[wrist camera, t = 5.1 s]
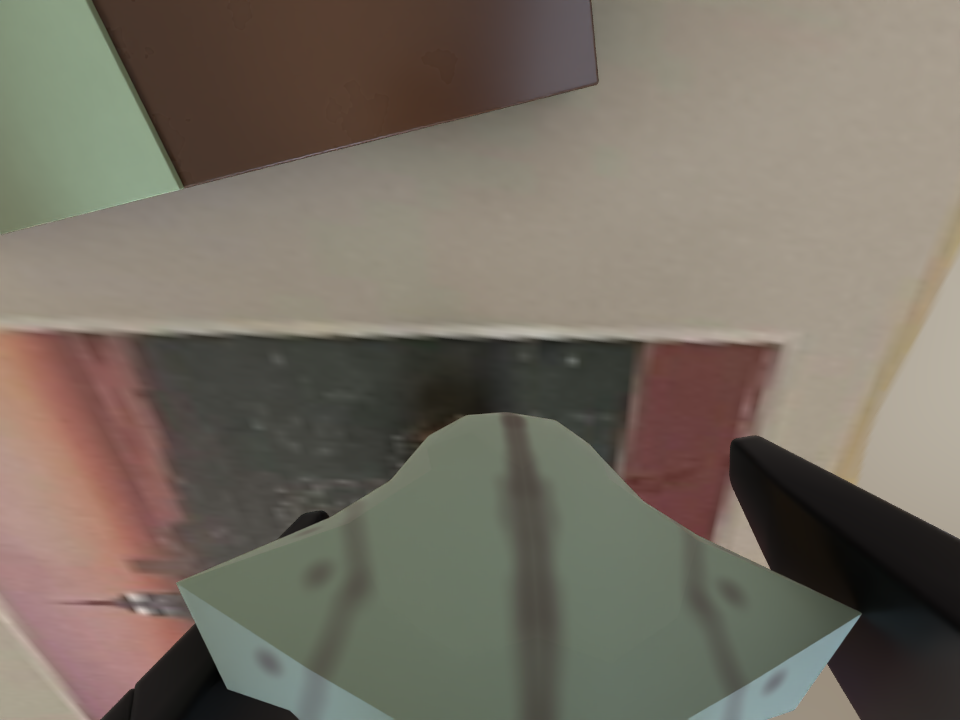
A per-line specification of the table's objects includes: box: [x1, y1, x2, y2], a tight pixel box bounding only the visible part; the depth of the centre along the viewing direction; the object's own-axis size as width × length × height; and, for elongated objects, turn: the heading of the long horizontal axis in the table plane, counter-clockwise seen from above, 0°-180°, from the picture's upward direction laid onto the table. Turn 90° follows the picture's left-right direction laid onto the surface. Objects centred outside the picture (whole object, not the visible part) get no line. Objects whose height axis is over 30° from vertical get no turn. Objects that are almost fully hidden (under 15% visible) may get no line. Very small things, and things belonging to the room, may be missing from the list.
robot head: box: [176, 412, 861, 720], centre depth 7 cm, size 8×4×7 cm, turn 86°
